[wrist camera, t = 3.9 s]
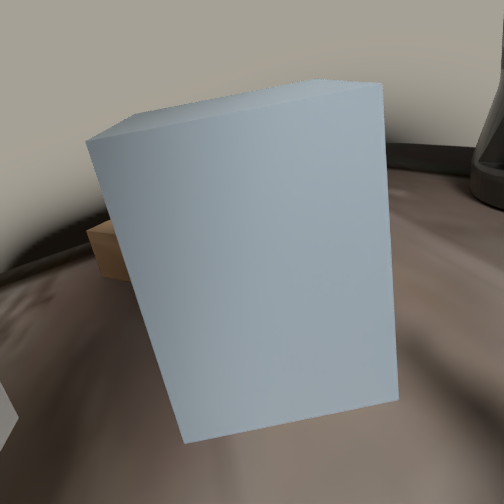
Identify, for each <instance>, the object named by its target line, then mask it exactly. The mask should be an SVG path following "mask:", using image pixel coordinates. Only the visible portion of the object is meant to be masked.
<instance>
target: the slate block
mask: <svg viewBox="0 0 504 504" xmlns="http://www.w3.org/2000/svg"><path fill="white" fill-rule="evenodd" d="M86 144H87V148H88V151H89V154H90V157H91V160H92V163H93V166H94V169H95V172H96V175H97V178H98V181H99V184H100V187H101V191H102V193H103V197H104V200H105V202H106V206H107V209H108V212H109V215H110V218H111V221H112V224H113V227H114V230H115V233H116V236H117V240H118V243H119V246H120V249H121V252H122V255H123V258H124V261H125V264H126V267H127V270H128V273H129V276H130V279H131V282H132V285H133V288H134V292H135V295H136V298H137V301H138V304H139V307H140V310H141V313H142V316H143V319H144V322H145V325H146V328H147V331H148V334H149V337H150V340H151V344H152V347H153V350H154V353H155V356H156V359H157V362H158V365H159V368H160V371H161V374H162V377H163V380H164V383H165V386H166V389H167V392H168V396H169V399H170V402H171V405H172V408H173V411H174V414H175V417H176V420H177V423H178V426H179V429H180V432H181V435H182V438H183V441H184V444H186V443H191V442H196V441H201V440H206V439H211V438H216V437H221V436H225V435H230V434H235V433H240V432H245V431H250V430H255V429H259V428H264V427H269V426H274V425H279V424H284V423H289V422H294V421H298V420H303V419H308V418H313V417H318V416H323V415H328V414H333V413H337V412H342V411H347V410H352V409H357V408H362V407H367V406H371V405H376V404H381V403H386V402H391V401H396V400H399V393H398V374H397V355H396V336H395V317H394V298H393V279H392V260H391V241H390V222H389V203H388V184H387V165H386V146H385V127H384V109H383V89H382V83H368V82H352V81H337V80H322V79H313V80H308V81H303V82H297V83H292V84H287V85H282V86H277V87H272V88H266V89H261V90H256V91H251V92H246V93H241V94H236V95H230V96H226V97H220V98H215V99H210V100H205V101H200V102H195V103H189V104H184V105H179V106H174V107H169V108H164V109H159V110H154V111H148V112H143V113H138V114H134V115H132V116H131V117H129V118H127V119H125V120H123V121H121V122H120V123H118V124H116V125H114V126H112V127H111V128H109V129H107V130H105V131H104V132H102V133H100V134H98V135H96V136H94V137H93V138H91V139H89V140H87V141H86Z"/></svg>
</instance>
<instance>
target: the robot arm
mask: <svg viewBox="0 0 504 504" xmlns="http://www.w3.org/2000/svg"><path fill="white" fill-rule="evenodd" d="M470 190H471V192H472V194H473V195H474V196H475V197H477V198H478V199H480V200H481V201H483V202H485V203H487V204H490V205H492V206H495V207H498V208H501V209H504V21H503V39H502V60H501V77H500V83H499V87H498V90H497V93H496V95H495V98H494V100H493V103H492V106H491V108H490V111H489V114H488V116H487V119H486V122H485V124H484V127H483V130H482V132H481V135H480V138H479V140H478V143H477V145H476V148H475V151H474V153H473V156H472V159H471V166H470ZM18 418H19V417H18V415H17V413H16V411H15V410H14V408H13V406H12V404H11V402H10V400H9V398H8V396H7V394H6V392H5V390H4V388H3V386H2V385H1V383H0V451H1V449H2V448H3V446H4V444H5V442H6V440H7V438H8V437H9V435H10V433H11V431H12V429H13V428H14V426H15V424H16V422H17V420H18Z"/></svg>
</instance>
